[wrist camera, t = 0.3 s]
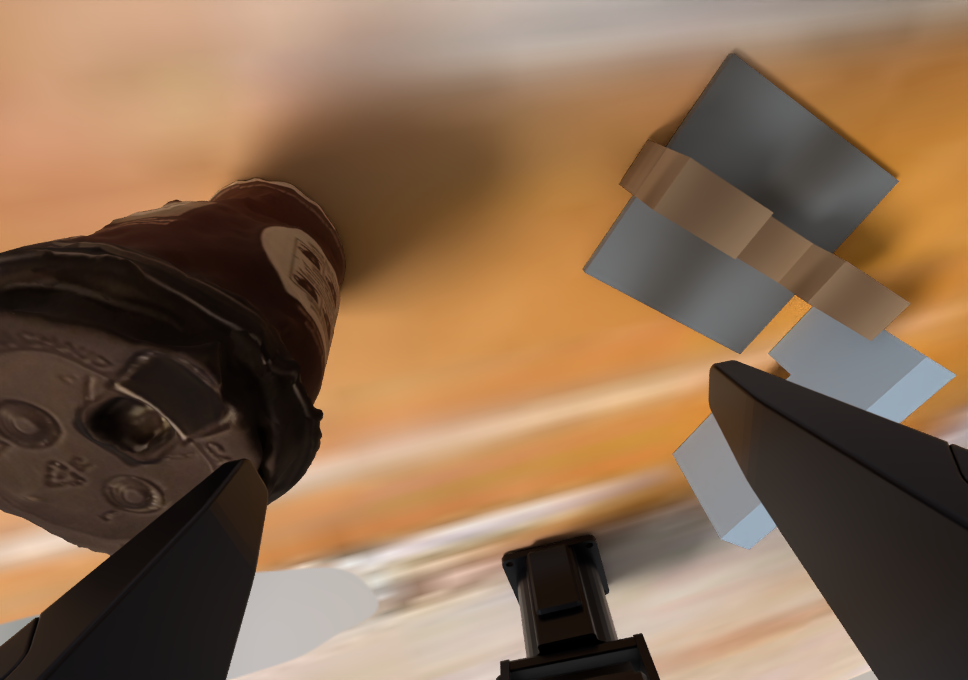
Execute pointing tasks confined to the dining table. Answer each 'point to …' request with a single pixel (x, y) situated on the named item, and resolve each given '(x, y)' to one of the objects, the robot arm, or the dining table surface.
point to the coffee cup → (164, 358)
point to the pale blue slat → (825, 369)
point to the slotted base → (747, 217)
